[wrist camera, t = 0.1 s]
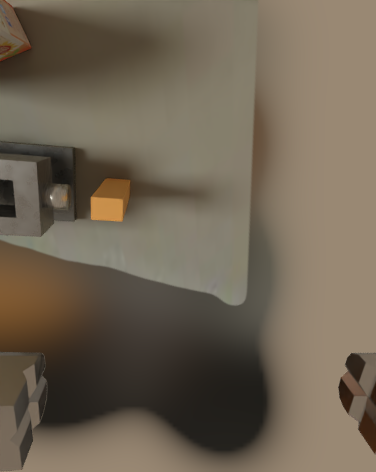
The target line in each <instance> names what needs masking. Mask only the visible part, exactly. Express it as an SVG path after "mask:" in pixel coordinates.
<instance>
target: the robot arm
mask: <svg viewBox="0 0 376 472" xmlns="http://www.w3.org/2000/svg"><path fill="white" fill-rule="evenodd" d="M345 365H346V368H347V370H348V371H347V372H346V373H345V374H344V375H343V376H342V377H341V379H340V383H339V387H338V388H339V397H340V400H341V402H342V405H343V407H344V409H345V410H346V412H347V413H348V415H350V416H351V417H353V418H354V419H355V420H357V421H358V422H359V425H358V426H359V427H358V430H359V431H360V433H361V434H362V436H363V437H364V439H365V440H366V442H367V443H368V445H369V446H370V448H371V449H372V451H373V452H374V454H376V353H351V354H350V355H349V356H348V357H347V360H346V363H345ZM44 368H45V358H44V355H43V354H42V353H16V352H0V471H12V470H22V468H23V465H24V463H25V460H26V458H27V455H28V453H29V450H30V447H31V445H32V442H33V434H32V429H33V428H34V427H35V426H36V425H37V424H39V423H40V421H41V418H42V415H43V412H44V408H45V403H46V399H47V381H46V380H45V379H44V377H43V376H42V373H43V371H44Z"/></svg>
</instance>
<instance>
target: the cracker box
mask: <svg viewBox="0 0 376 472" xmlns="http://www.w3.org/2000/svg"><path fill="white" fill-rule="evenodd" d="M29 49H31V45H30V43H29V41H28V39H27V36H26V34H25V32H24V30H23V28H22V26H21V24H20V22H19V20H18V18H17V16H16V14H15V11H14V9H13V7H12V6H11V5H10V4H9V3H7V2H6V1H5V0H0V61H3V60H5V59H7V58H10V57H12V56H14V55H17V54H19V53H21V52H24V51H26V50H29Z"/></svg>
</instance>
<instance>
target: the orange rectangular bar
mask: <svg viewBox="0 0 376 472" xmlns="http://www.w3.org/2000/svg"><path fill="white" fill-rule="evenodd" d="M129 198H130V180H126V179H113V178H106V179H105V180H104V181H103V183H102V184H101V185H100V186H99V188H98V189H97V190H96V191H95V193H94V194H93V195H92V196H91V220H106V221H123V218H124V214H125V211H126V208H127V204H128V201H129Z"/></svg>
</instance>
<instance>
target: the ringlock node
mask: <svg viewBox="0 0 376 472" xmlns="http://www.w3.org/2000/svg"><path fill="white" fill-rule="evenodd" d="M54 220H57V221H75V220H76V183H75V148H72V147H60V146H49V145H37V144H26V143H14V142H3V141H0V235H17V236H37V237H41V236H42V235H43V234H44V233H45V232H46V231H47V230H48V229H49V228H50V227H51V226H52V225H53V224H54Z"/></svg>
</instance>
